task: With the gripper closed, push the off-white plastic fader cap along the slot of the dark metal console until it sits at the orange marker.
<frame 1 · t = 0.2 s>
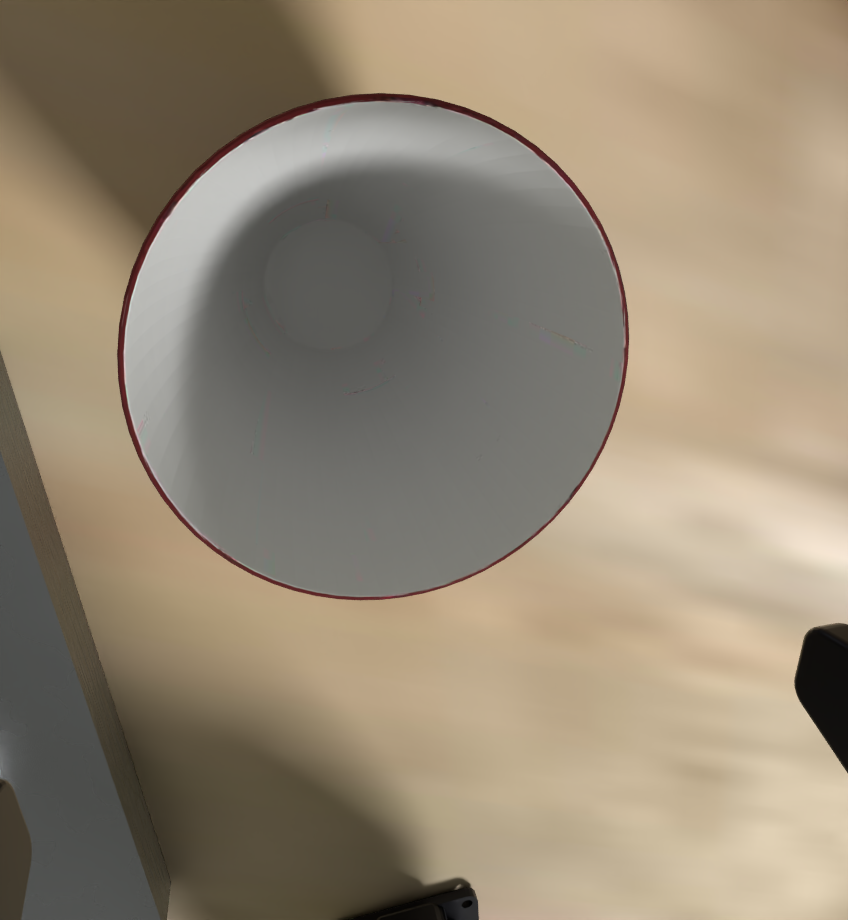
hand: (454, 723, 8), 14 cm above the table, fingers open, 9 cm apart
mug: (336, 326, 20), on the table
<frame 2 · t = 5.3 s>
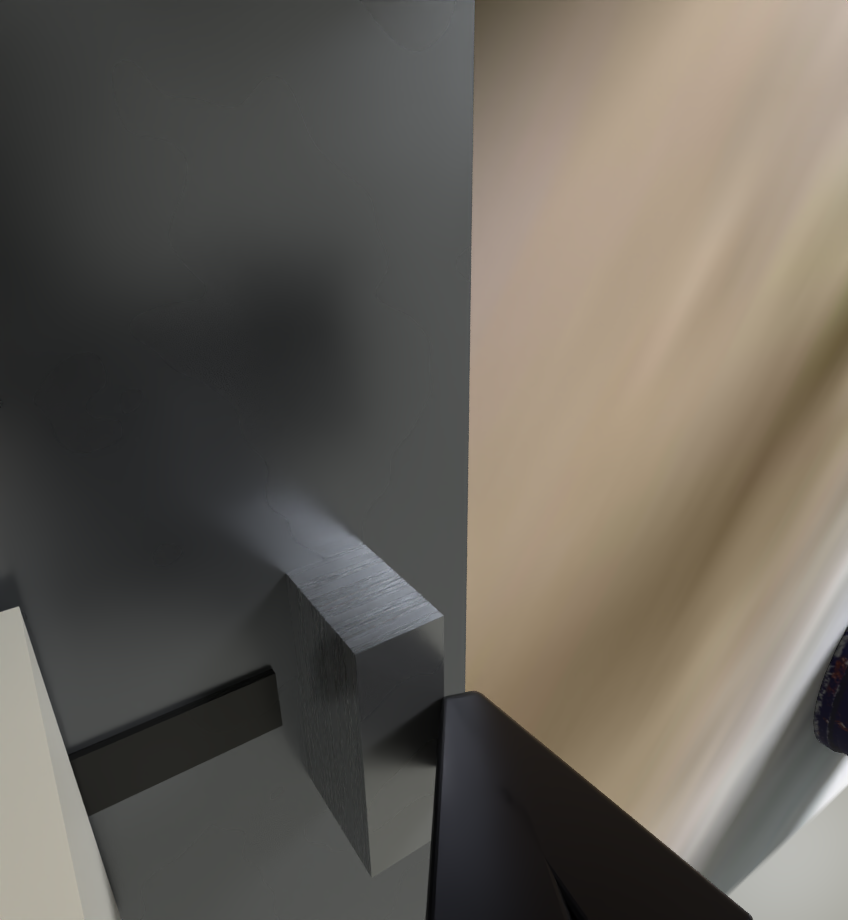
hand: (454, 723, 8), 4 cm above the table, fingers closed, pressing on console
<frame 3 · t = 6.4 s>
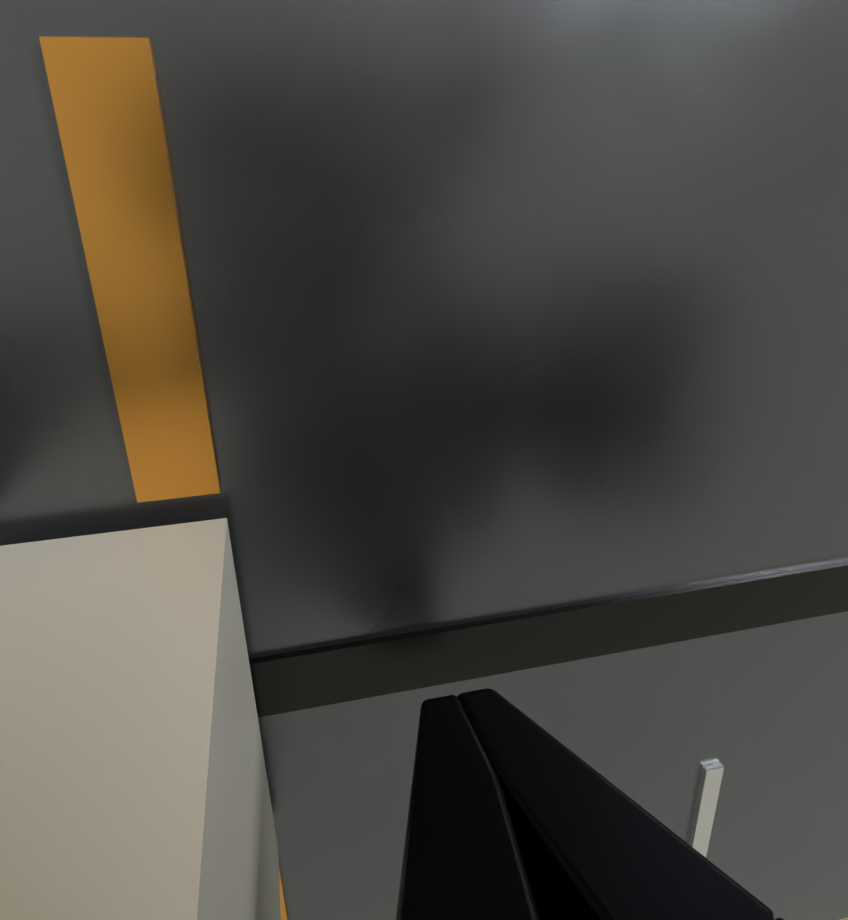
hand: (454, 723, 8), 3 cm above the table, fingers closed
console: (549, 549, 11), on the table
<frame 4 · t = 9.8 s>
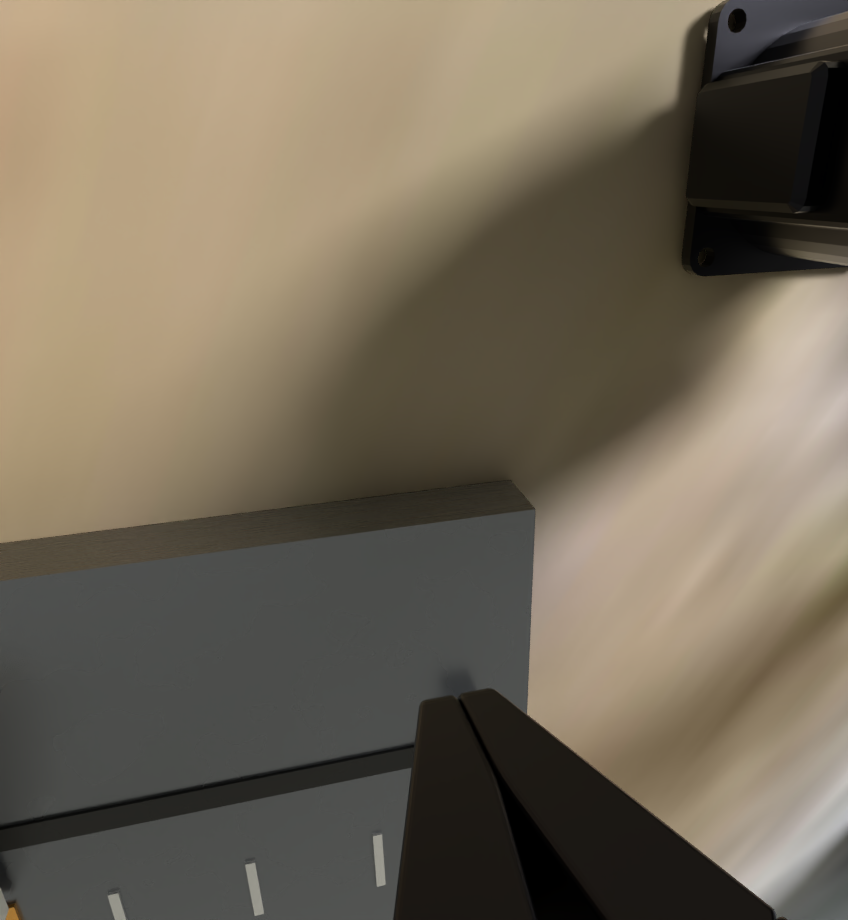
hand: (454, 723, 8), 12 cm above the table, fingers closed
console: (173, 752, 22), on the table
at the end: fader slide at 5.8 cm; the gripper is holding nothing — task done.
